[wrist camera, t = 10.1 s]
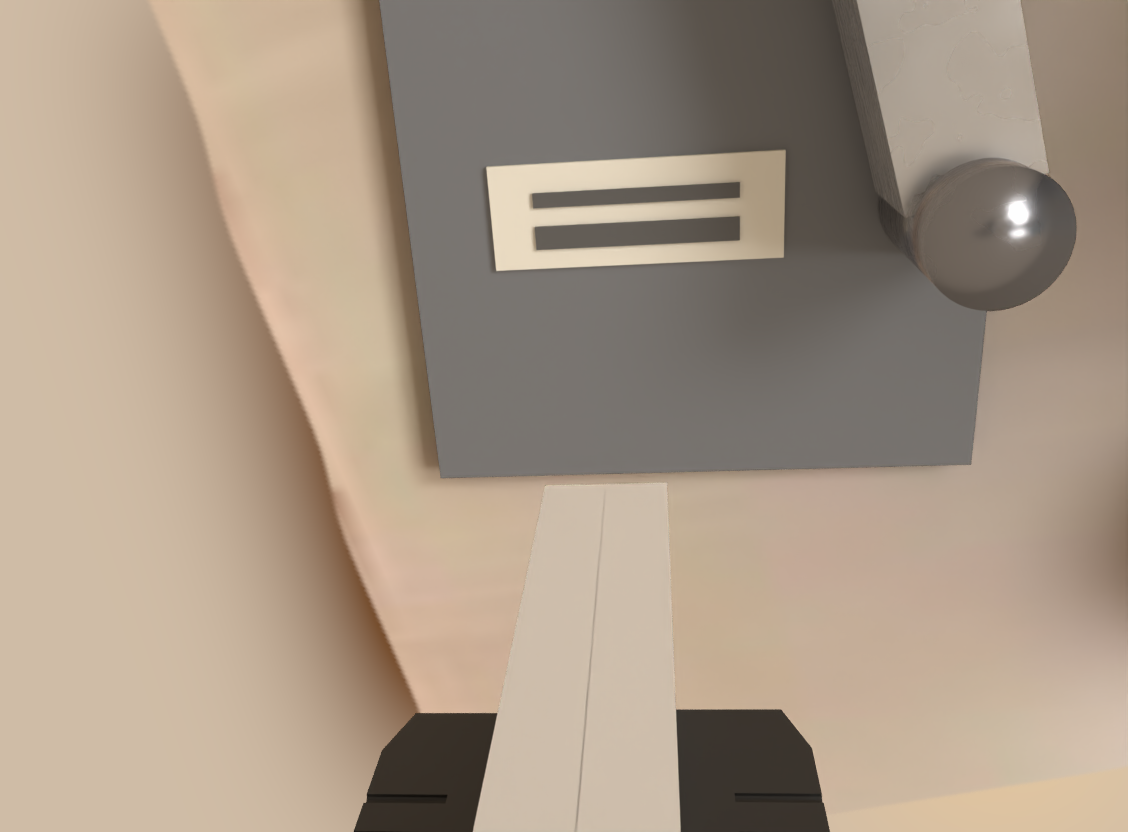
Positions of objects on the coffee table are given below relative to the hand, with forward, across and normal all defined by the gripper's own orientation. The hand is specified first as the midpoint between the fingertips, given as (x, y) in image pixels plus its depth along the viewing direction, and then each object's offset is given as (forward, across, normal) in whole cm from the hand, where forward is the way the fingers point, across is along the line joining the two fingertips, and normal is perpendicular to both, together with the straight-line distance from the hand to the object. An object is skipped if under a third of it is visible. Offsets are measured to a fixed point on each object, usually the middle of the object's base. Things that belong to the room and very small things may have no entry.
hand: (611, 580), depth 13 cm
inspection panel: (+24, +2, 0) cm, 24 cm away
